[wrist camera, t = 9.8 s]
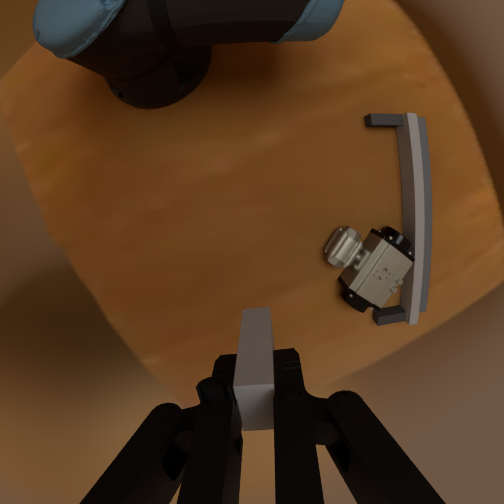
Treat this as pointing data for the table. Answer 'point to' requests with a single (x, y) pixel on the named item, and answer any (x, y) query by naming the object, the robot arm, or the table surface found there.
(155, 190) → the table surface
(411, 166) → the curved pull handle
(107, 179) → the table surface
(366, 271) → the pneumatic valve
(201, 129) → the table surface
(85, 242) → the table surface
